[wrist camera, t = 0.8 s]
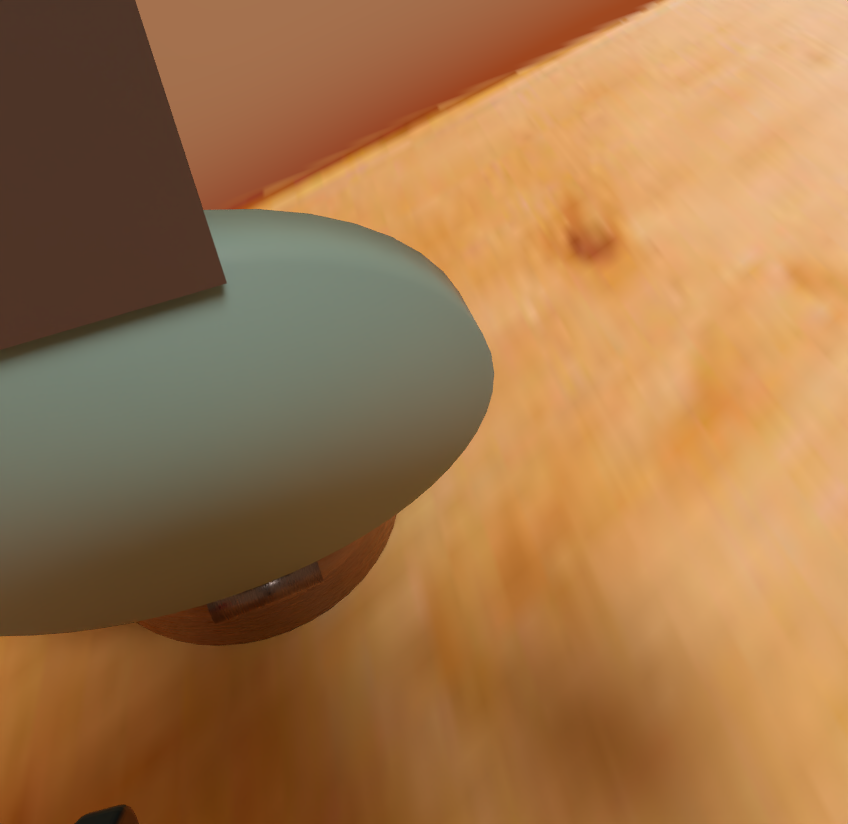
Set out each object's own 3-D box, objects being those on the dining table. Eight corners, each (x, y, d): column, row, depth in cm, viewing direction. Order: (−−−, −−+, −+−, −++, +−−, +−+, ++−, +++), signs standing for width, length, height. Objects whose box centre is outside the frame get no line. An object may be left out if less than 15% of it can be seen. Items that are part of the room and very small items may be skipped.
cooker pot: (515, 567, 24) (524, 483, 20) (45, 760, 21) (-50, 705, 17) (387, 335, 31) (376, 239, 27) (22, 453, 28) (-49, 364, 24)
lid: (455, 473, 20) (472, 511, 20) (17, 637, 18) (24, 685, 17) (551, -219, 7) (616, -161, 6) (-1147, 56, 4) (-1280, 189, 4)
